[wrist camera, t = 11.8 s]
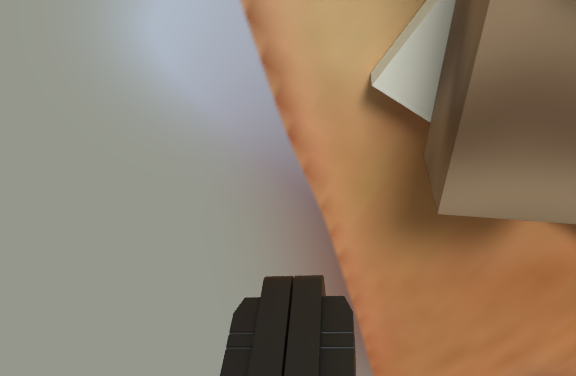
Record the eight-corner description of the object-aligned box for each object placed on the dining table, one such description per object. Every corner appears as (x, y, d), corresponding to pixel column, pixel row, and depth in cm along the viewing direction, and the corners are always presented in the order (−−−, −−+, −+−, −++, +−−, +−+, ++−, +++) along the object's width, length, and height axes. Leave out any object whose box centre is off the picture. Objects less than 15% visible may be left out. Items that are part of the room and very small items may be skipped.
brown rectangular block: (508, -251, 14) (556, -272, 11) (722, -247, 14) (839, -267, 10) (423, 155, 22) (437, 214, 18) (560, 164, 21) (599, 225, 18)
